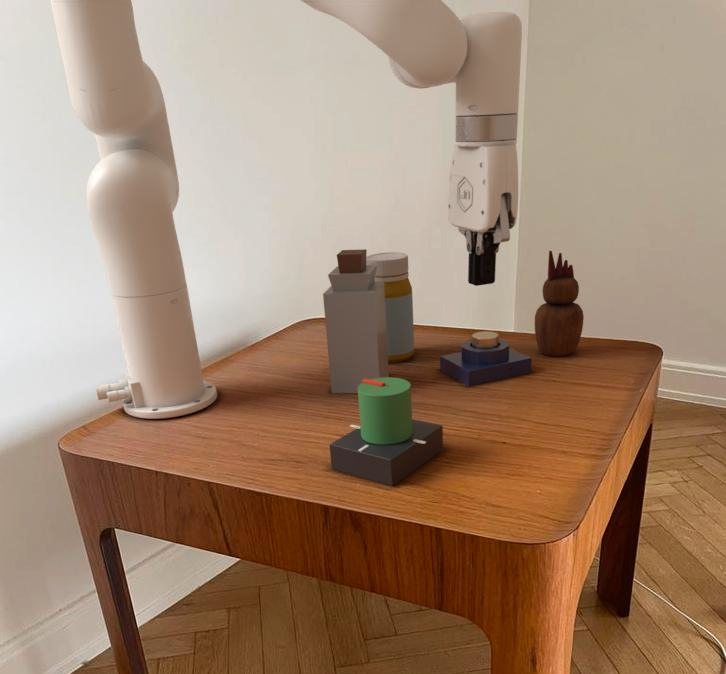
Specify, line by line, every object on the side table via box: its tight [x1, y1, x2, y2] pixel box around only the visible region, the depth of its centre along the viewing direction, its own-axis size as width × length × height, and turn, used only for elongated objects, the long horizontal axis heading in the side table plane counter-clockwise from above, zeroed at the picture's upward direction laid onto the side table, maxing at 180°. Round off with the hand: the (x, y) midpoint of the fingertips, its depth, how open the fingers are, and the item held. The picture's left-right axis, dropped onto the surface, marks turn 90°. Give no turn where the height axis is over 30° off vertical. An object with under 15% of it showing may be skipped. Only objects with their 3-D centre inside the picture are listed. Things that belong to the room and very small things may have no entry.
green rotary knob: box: [357, 376, 413, 445], centre depth 79 cm, size 6×6×6 cm
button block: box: [439, 338, 532, 387], centre depth 105 cm, size 10×8×4 cm
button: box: [471, 331, 499, 349], centre depth 103 cm, size 4×4×2 cm
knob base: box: [329, 417, 444, 487], centre depth 81 cm, size 10×10×3 cm
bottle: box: [366, 251, 415, 364], centre depth 111 cm, size 7×7×15 cm
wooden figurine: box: [534, 250, 585, 358], centre depth 107 cm, size 7×6×15 cm
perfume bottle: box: [322, 248, 390, 394], centre depth 100 cm, size 7×7×18 cm
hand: (481, 283), depth 100 cm, fingers closed
